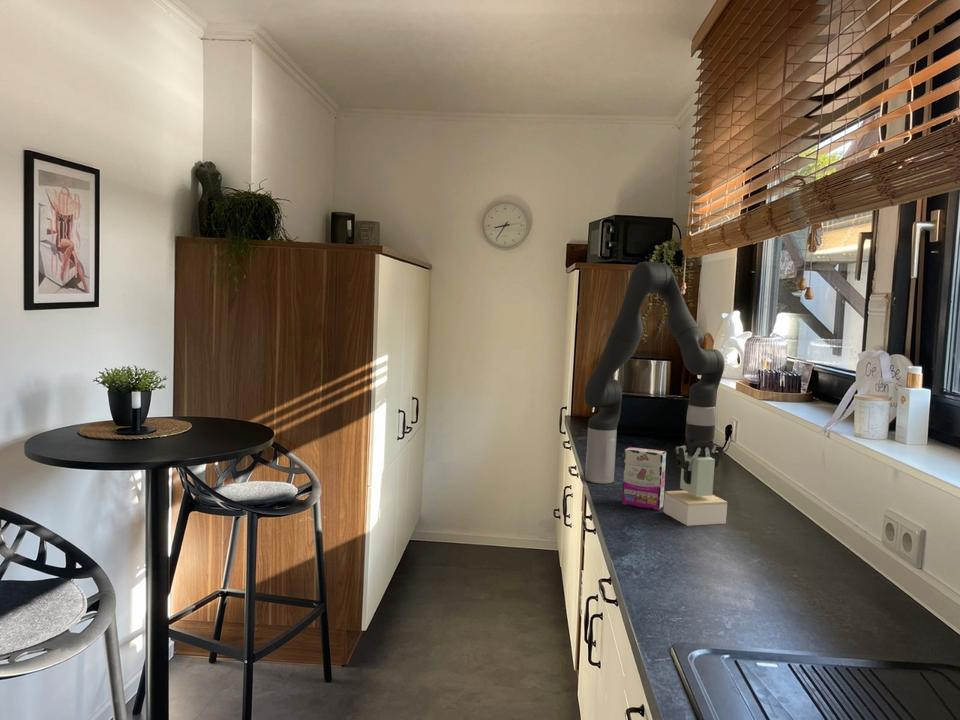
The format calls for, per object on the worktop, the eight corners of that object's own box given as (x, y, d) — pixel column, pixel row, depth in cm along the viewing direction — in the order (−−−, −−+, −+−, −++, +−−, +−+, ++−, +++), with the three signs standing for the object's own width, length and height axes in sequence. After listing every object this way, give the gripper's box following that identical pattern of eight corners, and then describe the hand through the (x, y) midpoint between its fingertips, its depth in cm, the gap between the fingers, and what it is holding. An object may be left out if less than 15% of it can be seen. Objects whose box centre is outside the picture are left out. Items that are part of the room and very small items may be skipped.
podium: (663, 512, 207) (664, 491, 206) (700, 510, 210) (702, 489, 210) (686, 525, 195) (688, 503, 195) (725, 523, 199) (727, 501, 198)
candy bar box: (663, 506, 212) (667, 451, 211) (659, 511, 208) (663, 454, 206) (625, 500, 217) (629, 445, 216) (620, 504, 213) (624, 448, 211)
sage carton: (680, 488, 205) (682, 452, 204) (695, 487, 207) (698, 452, 206) (696, 496, 198) (698, 459, 197) (712, 495, 199) (715, 459, 198)
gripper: (715, 419, 206) (711, 478, 208) (670, 419, 202) (666, 480, 203) (731, 424, 199) (727, 485, 200) (685, 424, 195) (680, 487, 196)
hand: (696, 482), depth 202 cm, fingers closed on sage carton, 4 cm apart
